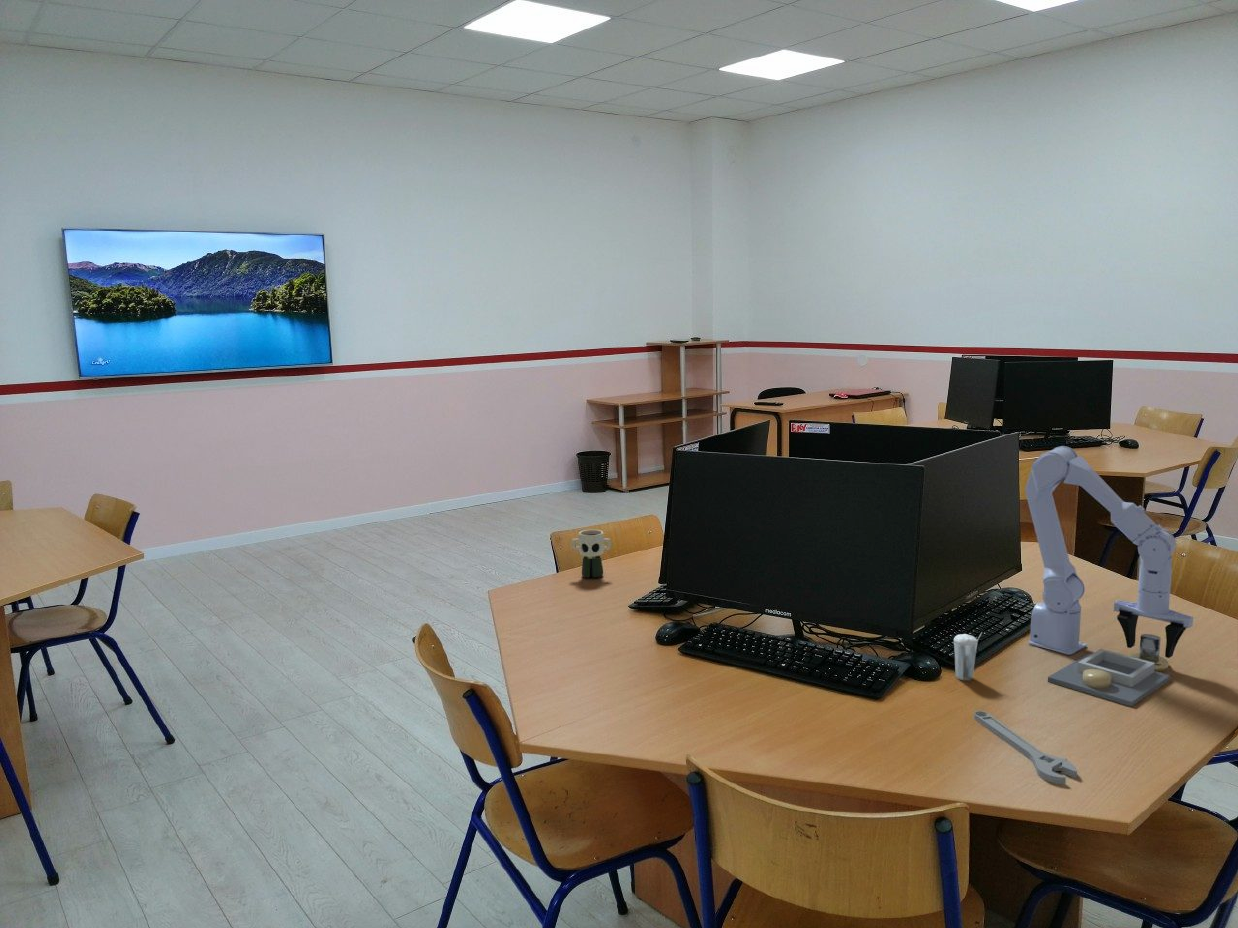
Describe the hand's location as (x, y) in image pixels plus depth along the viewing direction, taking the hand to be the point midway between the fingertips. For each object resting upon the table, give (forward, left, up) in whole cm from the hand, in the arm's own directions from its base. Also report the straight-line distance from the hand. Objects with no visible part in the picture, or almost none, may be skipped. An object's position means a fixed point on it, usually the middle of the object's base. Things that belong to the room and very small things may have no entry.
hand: (1149, 651), depth 193 cm
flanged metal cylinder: (0, 0, -3) cm, 3 cm away
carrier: (-2, -14, -3) cm, 14 cm away
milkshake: (-22, -33, -3) cm, 40 cm away
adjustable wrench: (0, -52, -4) cm, 52 cm away
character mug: (-132, -45, -3) cm, 139 cm away
